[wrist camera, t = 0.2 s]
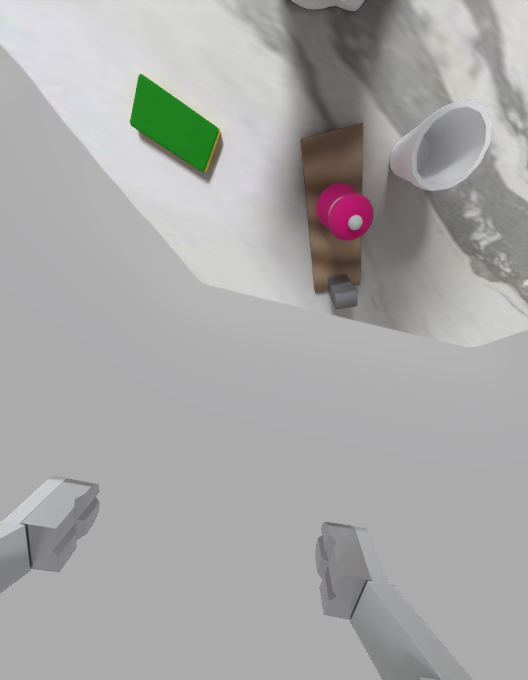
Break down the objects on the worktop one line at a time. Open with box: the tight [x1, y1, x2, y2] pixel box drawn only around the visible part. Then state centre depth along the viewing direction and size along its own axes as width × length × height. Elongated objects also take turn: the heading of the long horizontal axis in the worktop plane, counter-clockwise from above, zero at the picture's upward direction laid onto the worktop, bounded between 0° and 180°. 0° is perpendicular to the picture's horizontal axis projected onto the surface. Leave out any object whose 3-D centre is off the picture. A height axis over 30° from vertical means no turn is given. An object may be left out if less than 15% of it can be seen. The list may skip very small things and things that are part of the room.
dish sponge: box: [130, 74, 221, 172], centre depth 43 cm, size 7×14×2 cm, turn 60°
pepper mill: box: [316, 183, 373, 241], centre depth 39 cm, size 7×7×20 cm
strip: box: [301, 123, 363, 309], centre depth 45 cm, size 28×10×12 cm, turn 11°
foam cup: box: [390, 100, 492, 191], centre depth 38 cm, size 10×9×13 cm
